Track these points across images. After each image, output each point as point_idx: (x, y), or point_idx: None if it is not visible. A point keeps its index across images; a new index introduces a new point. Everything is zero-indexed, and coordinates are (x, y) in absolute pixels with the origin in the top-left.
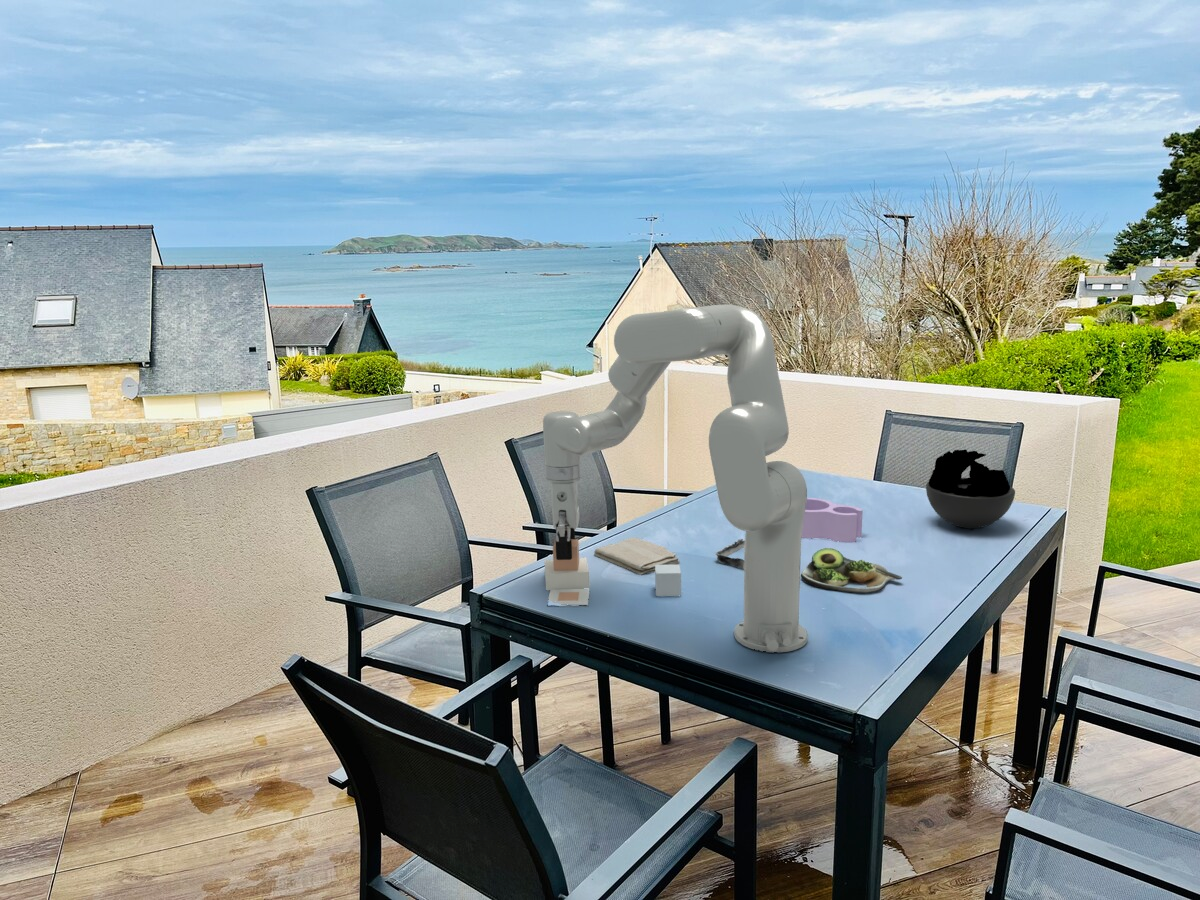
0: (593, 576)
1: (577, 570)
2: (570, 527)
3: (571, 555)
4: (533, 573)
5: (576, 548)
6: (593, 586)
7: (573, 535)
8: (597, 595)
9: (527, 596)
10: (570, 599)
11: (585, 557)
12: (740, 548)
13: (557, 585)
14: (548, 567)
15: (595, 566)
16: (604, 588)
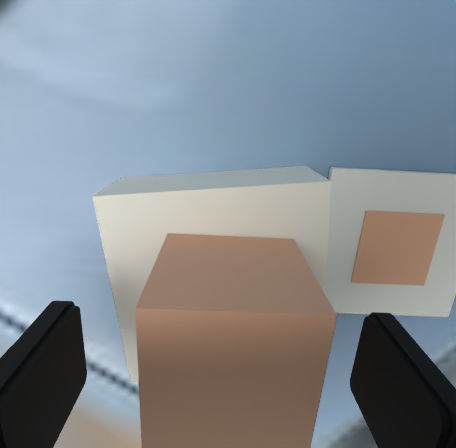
0: (160, 146)
1: (295, 240)
2: (5, 435)
3: (401, 327)
4: (125, 368)
5: (331, 311)
6: (282, 149)
7: (48, 349)
8: (387, 133)
9: (338, 371)
10: (432, 243)
11: (94, 200)
12: None
13: None
14: None
15: (25, 134)
16: (313, 98)
